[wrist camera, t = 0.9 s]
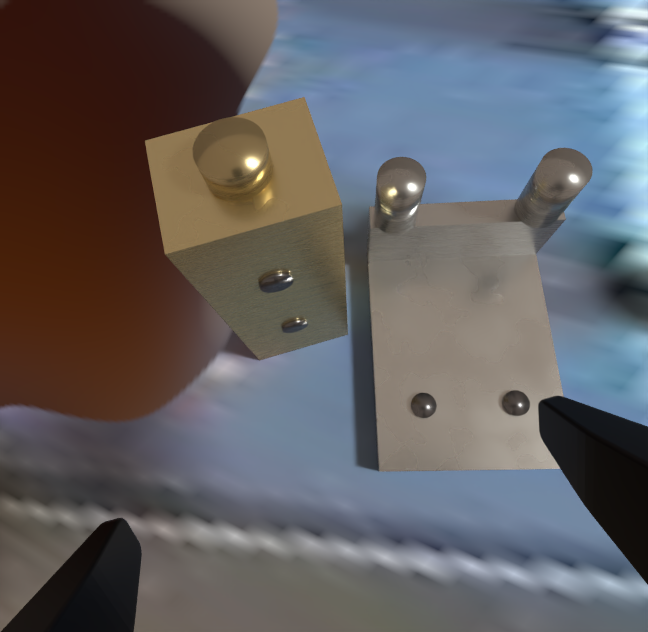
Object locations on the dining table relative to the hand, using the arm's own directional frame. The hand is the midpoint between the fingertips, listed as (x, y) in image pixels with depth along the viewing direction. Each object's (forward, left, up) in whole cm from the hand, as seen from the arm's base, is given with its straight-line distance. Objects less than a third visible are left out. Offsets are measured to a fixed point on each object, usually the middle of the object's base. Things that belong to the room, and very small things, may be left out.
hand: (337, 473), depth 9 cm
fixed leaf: (+7, -4, -13) cm, 16 cm away
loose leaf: (+7, +5, -13) cm, 16 cm away
